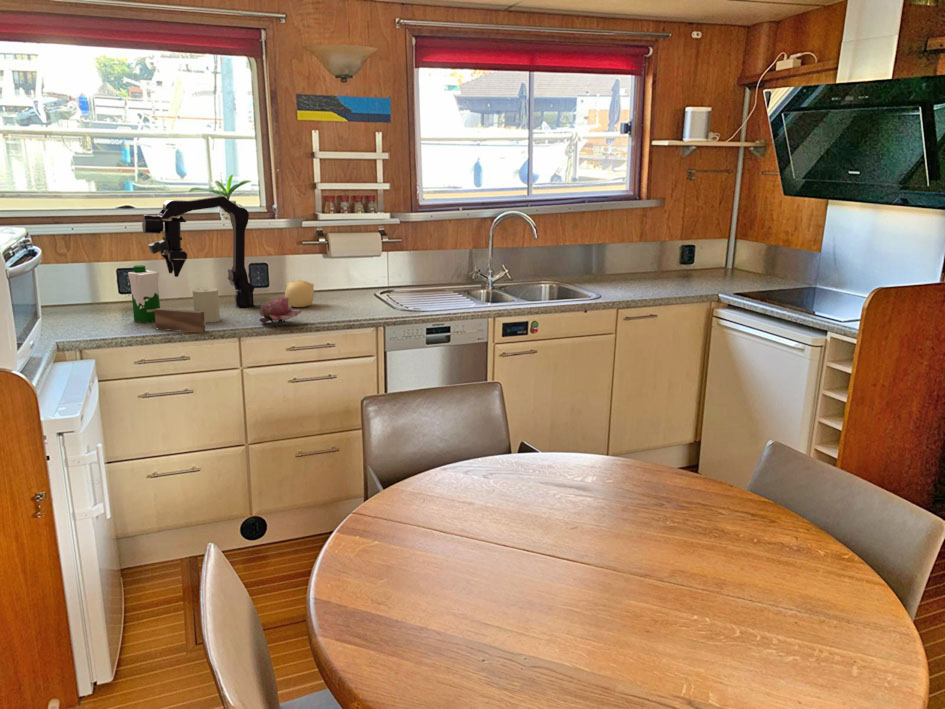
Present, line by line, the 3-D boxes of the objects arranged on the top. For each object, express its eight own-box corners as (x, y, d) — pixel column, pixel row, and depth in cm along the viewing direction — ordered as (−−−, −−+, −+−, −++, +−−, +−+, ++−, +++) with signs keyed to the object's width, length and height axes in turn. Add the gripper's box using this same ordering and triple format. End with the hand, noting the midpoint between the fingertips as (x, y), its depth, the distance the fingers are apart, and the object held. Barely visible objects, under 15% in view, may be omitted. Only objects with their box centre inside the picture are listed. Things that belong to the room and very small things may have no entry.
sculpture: (316, 303, 319) (315, 277, 316) (311, 309, 308) (310, 282, 305) (288, 303, 319) (287, 277, 316) (282, 309, 307) (281, 282, 304)
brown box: (160, 327, 274) (159, 308, 272) (205, 330, 270) (204, 311, 268) (156, 328, 271) (154, 309, 270) (201, 332, 267) (199, 312, 265)
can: (196, 323, 280) (193, 291, 277) (192, 318, 288) (190, 287, 285) (222, 321, 284) (220, 289, 281) (218, 316, 292) (215, 285, 289)
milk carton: (150, 316, 290) (145, 264, 285) (166, 319, 286) (161, 266, 280) (130, 320, 283) (124, 267, 278) (145, 324, 278) (140, 269, 273)
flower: (306, 312, 288) (296, 288, 284) (298, 326, 274) (287, 301, 271) (269, 322, 290) (259, 298, 286) (259, 336, 276) (248, 311, 272)
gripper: (144, 231, 293) (145, 271, 296) (155, 236, 278) (156, 278, 281) (175, 231, 299) (175, 271, 302) (187, 236, 284) (187, 278, 287)
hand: (173, 275), depth 293 cm, fingers open, 9 cm apart
